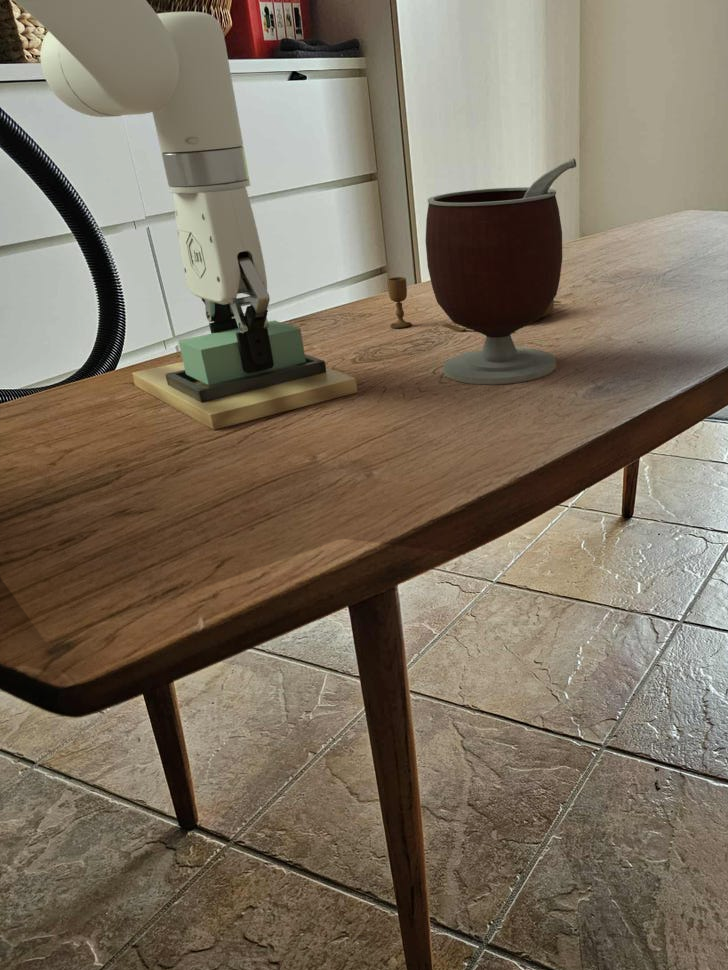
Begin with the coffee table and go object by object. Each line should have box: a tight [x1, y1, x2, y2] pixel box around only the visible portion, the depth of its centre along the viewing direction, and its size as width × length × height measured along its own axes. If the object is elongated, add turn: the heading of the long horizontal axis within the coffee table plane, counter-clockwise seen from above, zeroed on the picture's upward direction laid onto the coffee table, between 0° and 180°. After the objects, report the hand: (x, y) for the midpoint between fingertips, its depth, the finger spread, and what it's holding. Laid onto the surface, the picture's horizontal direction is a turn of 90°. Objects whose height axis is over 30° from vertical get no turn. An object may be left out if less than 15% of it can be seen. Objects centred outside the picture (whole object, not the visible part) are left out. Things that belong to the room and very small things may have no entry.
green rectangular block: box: [178, 320, 306, 385], centre depth 94 cm, size 11×6×4 cm, turn 128°
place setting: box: [386, 276, 562, 332], centre depth 119 cm, size 18×20×6 cm
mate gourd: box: [425, 158, 577, 385], centre depth 93 cm, size 16×14×20 cm
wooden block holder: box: [131, 353, 358, 431], centre depth 96 cm, size 16×22×3 cm
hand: (244, 362), depth 94 cm, fingers closed on green rectangular block, 5 cm apart
